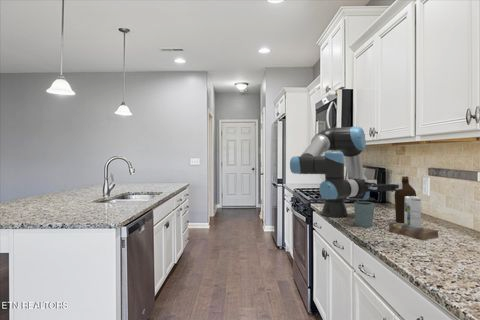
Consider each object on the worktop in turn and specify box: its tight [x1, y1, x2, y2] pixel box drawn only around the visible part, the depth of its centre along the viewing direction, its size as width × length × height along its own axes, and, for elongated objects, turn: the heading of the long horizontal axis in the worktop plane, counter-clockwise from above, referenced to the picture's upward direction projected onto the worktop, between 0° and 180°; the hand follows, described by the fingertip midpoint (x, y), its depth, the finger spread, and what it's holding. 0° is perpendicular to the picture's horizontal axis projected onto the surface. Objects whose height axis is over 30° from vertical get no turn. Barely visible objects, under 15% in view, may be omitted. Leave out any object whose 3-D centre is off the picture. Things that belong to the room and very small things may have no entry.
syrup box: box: [404, 196, 422, 228], centre depth 155 cm, size 6×6×14 cm
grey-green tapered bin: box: [353, 201, 375, 228], centre depth 175 cm, size 10×10×12 cm
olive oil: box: [394, 175, 417, 224], centre depth 180 cm, size 11×11×25 cm
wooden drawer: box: [388, 220, 439, 241], centre depth 155 cm, size 18×10×5 cm, turn 25°
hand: (388, 184), depth 150 cm, fingers open, 13 cm apart
